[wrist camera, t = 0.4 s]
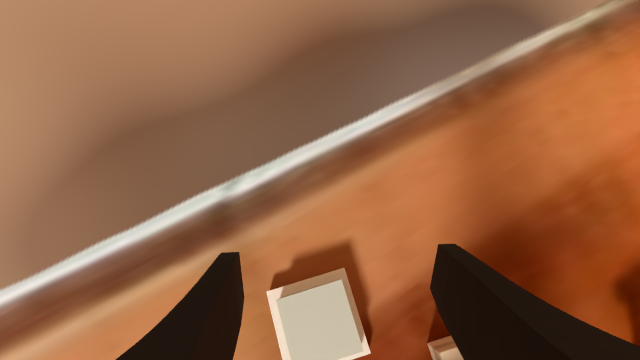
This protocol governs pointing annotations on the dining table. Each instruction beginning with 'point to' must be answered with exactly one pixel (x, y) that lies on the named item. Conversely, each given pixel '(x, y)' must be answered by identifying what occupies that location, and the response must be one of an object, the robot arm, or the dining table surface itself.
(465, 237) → the dining table surface
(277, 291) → the bottom slab
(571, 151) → the dining table surface
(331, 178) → the dining table surface
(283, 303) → the top slab
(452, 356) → the birch block
